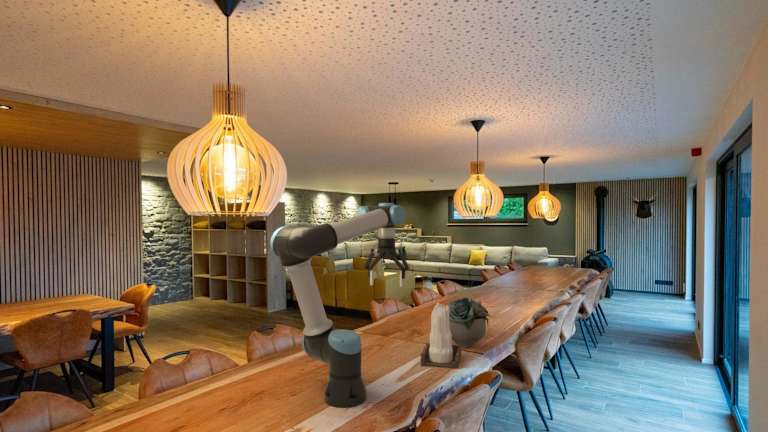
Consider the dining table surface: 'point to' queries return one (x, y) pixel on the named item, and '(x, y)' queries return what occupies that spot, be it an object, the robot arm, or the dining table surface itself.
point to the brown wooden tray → (452, 364)
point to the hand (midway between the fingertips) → (386, 285)
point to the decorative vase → (440, 335)
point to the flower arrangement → (467, 321)
